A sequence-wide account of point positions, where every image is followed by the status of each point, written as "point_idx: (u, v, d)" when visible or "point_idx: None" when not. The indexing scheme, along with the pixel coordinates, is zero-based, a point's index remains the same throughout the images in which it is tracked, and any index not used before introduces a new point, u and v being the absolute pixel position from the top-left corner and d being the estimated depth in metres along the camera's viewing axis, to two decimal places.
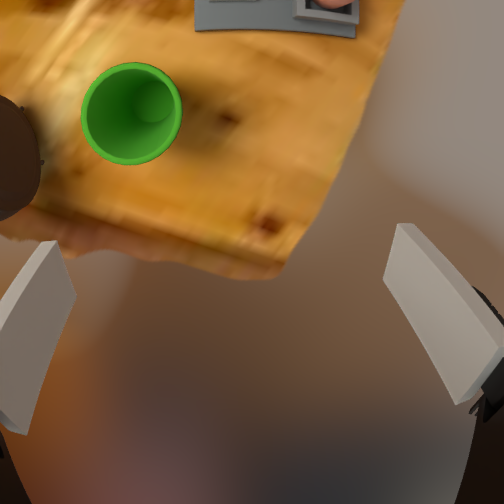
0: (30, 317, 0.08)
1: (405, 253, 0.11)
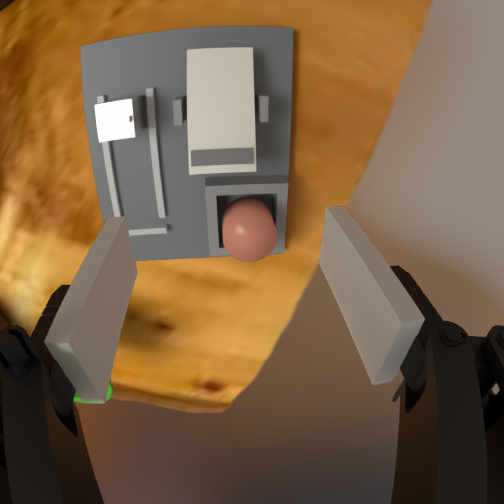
0: (109, 285, 0.09)
1: (332, 234, 0.12)
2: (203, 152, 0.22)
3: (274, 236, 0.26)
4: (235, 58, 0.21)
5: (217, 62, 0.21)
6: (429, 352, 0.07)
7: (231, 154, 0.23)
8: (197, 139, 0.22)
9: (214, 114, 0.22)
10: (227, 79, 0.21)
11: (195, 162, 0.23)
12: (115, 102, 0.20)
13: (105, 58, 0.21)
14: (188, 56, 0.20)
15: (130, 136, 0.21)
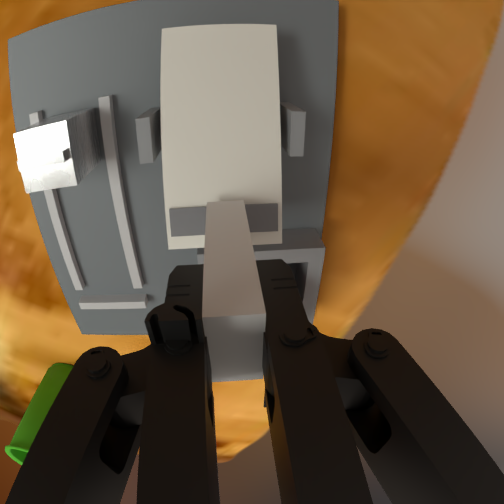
0: None
1: None
2: (191, 211, 0.13)
3: None
4: (246, 42, 0.11)
5: (215, 49, 0.11)
6: (270, 358, 0.07)
7: None
8: (180, 188, 0.13)
9: (209, 143, 0.13)
10: (232, 79, 0.12)
11: (178, 229, 0.13)
12: (41, 127, 0.11)
13: (40, 54, 0.11)
14: (164, 40, 0.11)
15: (69, 184, 0.12)
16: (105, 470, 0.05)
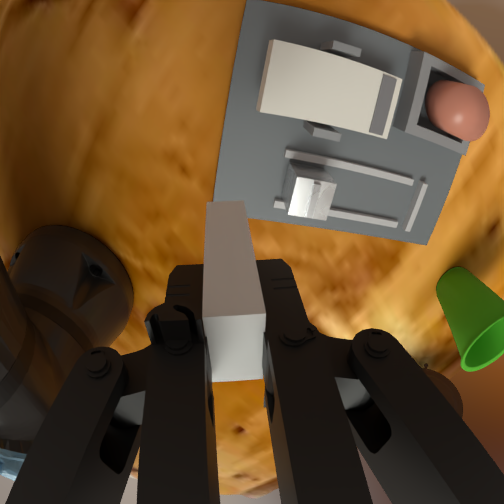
0: None
1: None
2: (374, 121, 0.20)
3: (475, 90, 0.16)
4: (285, 61, 0.17)
5: (286, 81, 0.18)
6: (270, 358, 0.07)
7: (384, 96, 0.19)
8: (361, 122, 0.20)
9: (343, 99, 0.19)
10: (309, 76, 0.18)
11: (380, 130, 0.21)
12: (294, 193, 0.22)
13: (235, 190, 0.26)
14: (269, 111, 0.19)
15: (334, 188, 0.22)
16: (105, 470, 0.05)
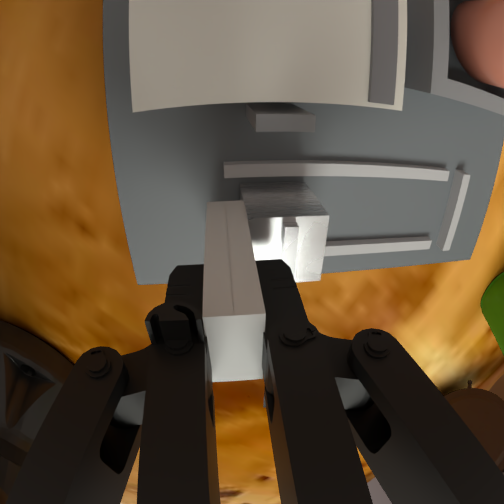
0: None
1: None
2: (375, 79, 0.10)
3: None
4: None
5: (172, 35, 0.08)
6: (270, 358, 0.07)
7: (383, 30, 0.09)
8: (350, 86, 0.10)
9: (304, 46, 0.09)
10: (220, 13, 0.07)
11: (388, 96, 0.10)
12: None
13: (160, 246, 0.16)
14: (152, 106, 0.09)
15: (325, 224, 0.12)
16: (105, 470, 0.05)
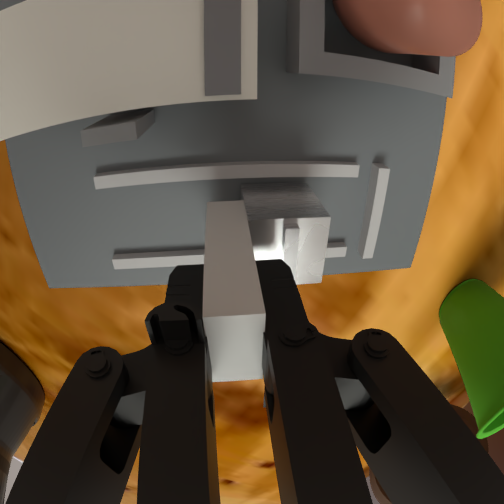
0: None
1: None
2: (210, 69, 0.09)
3: None
4: (0, 43, 0.06)
5: (8, 74, 0.07)
6: (270, 358, 0.07)
7: (218, 12, 0.08)
8: (179, 83, 0.09)
9: (122, 53, 0.08)
10: (43, 43, 0.07)
11: (232, 85, 0.10)
12: None
13: (59, 253, 0.15)
14: (0, 137, 0.08)
15: (327, 226, 0.11)
16: (105, 470, 0.05)
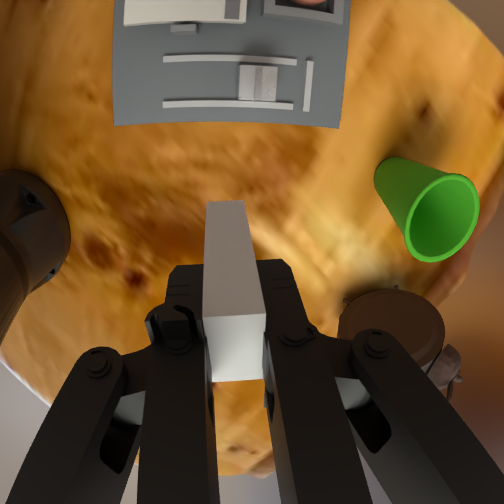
0: None
1: None
2: (227, 9, 0.20)
3: None
4: None
5: None
6: (270, 358, 0.07)
7: None
8: (214, 13, 0.20)
9: None
10: None
11: (235, 15, 0.21)
12: (240, 79, 0.23)
13: (129, 101, 0.26)
14: (131, 22, 0.19)
15: (276, 71, 0.23)
16: (105, 470, 0.05)
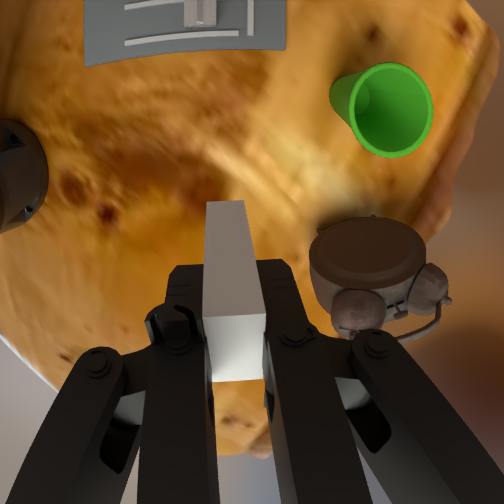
0: None
1: None
2: None
3: None
4: None
5: None
6: (270, 358, 0.07)
7: None
8: None
9: None
10: None
11: None
12: (184, 9, 0.22)
13: (97, 44, 0.26)
14: None
15: None
16: (104, 470, 0.05)
